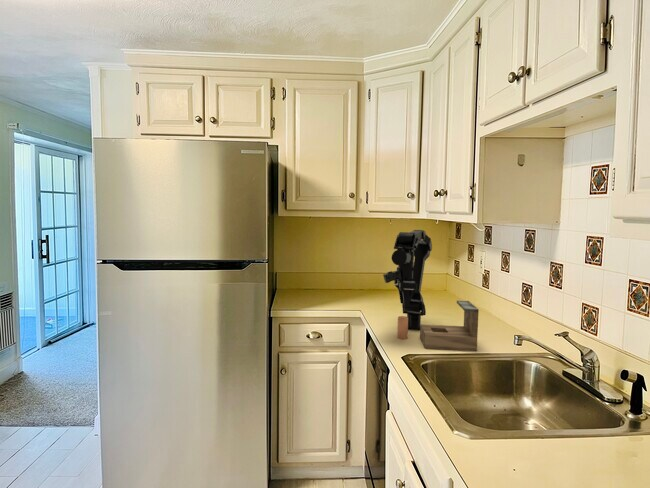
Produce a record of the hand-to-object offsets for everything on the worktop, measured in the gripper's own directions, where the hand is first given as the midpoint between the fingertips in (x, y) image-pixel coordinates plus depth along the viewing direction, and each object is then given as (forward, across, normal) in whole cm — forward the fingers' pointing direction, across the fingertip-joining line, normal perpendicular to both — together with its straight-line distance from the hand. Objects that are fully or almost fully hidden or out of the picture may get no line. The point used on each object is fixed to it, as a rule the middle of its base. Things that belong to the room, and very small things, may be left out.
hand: (403, 305), depth 158 cm
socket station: (+13, +4, +16) cm, 21 cm away
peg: (+13, -2, 0) cm, 13 cm away
